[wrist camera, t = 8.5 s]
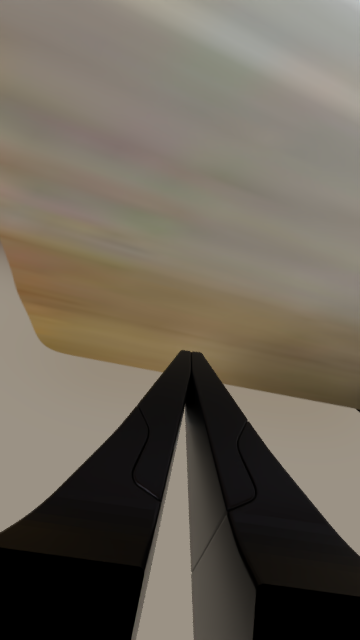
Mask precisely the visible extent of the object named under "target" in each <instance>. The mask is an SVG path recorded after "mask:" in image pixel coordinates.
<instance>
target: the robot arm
mask: <svg viewBox="0 0 360 640" xmlns="http://www.w3.org/2000/svg"><path fill="white" fill-rule="evenodd" d="M184 407H185V420H186V445H187V472H188V498H189V524H190V550H191V571H192V575H191V578H192V602H193V603H192V604H193V627H194V640H360V556H359V555H358V554H357V553H356V552H355V551H354V550H353V549H352V548H351V547H350V546H349V545H348V544H347V543H346V542H345V541H344V540H343V539H342V538H341V537H340V536H339V535H338V534H337V532H336V531H335V530H334V529H333V528H332V526H331V525H330V524H329V523H328V522H327V521H326V519H325V518H324V517H323V516H322V514H321V513H320V512H319V511H318V509H317V508H316V507H315V506H314V505H313V503H312V502H311V501H310V500H309V499H308V497H307V496H306V495H305V494H304V492H303V491H302V490H301V489H300V488H299V486H298V485H297V484H296V483H295V482H294V480H293V479H292V478H291V477H290V475H289V474H288V473H287V472H286V470H285V469H284V468H283V467H282V465H281V464H280V463H279V462H278V460H277V459H276V458H275V457H274V455H273V454H272V453H271V452H270V450H269V449H268V448H267V446H266V445H265V444H264V442H263V441H262V439H261V438H260V437H259V435H258V434H257V432H256V431H255V430H254V428H253V427H252V425H251V424H250V423H249V422H247V418H246V417H245V415H244V414H243V412H242V411H241V409H240V408H239V407H238V405H237V404H236V402H235V401H234V399H233V398H232V396H231V395H230V393H229V392H228V391H227V389H226V388H225V386H224V385H223V383H222V382H221V380H220V379H219V378H218V376H217V375H216V373H215V372H214V370H213V369H212V367H211V366H210V364H209V363H208V362H207V360H206V359H205V357H204V356H203V354H202V353H200V352H190V351H185V350H181V351H180V352H179V353H178V355H177V356H176V357H175V358H174V360H173V361H172V362H171V363H170V365H169V366H168V367H167V368H166V370H165V371H164V372H163V373H162V375H161V376H160V377H159V379H158V380H157V381H156V382H155V383H154V385H153V386H152V387H151V389H150V390H149V391H148V392H147V394H146V395H145V396H144V397H143V399H142V400H141V401H140V402H139V403H138V405H137V406H136V407H135V408H134V410H133V411H132V412H131V413H130V415H129V416H128V417H127V418H126V419H125V420H124V422H123V423H122V424H121V425H120V426H119V427H118V429H117V430H116V431H115V432H114V433H113V434H112V435H111V436H110V437H109V438H108V439H107V440H106V441H105V442H104V443H103V444H102V445H101V446H100V447H99V448H98V449H97V450H96V451H95V452H94V453H93V454H92V455H91V456H90V457H89V458H88V459H87V460H86V461H85V462H84V463H83V464H82V465H81V466H80V467H79V468H78V469H77V470H76V471H75V472H74V473H73V474H72V475H71V476H70V477H69V478H68V479H67V480H66V481H65V482H64V483H63V484H62V485H61V486H60V487H59V488H58V489H57V490H56V491H55V492H54V493H53V494H52V495H51V496H50V497H49V498H47V499H46V500H45V501H44V502H43V503H42V504H41V505H39V506H38V507H37V508H36V509H34V510H33V511H32V512H31V513H29V514H28V515H26V516H25V517H24V518H22V519H21V520H19V521H18V522H16V523H15V524H13V525H11V526H10V527H8V528H7V529H5V530H4V531H2V532H0V640H136V636H137V631H138V627H139V622H140V617H141V613H142V608H143V603H144V598H145V593H146V589H147V583H148V579H149V574H150V570H151V565H152V560H153V555H154V550H155V546H156V541H157V536H158V532H159V527H160V522H161V517H162V512H163V508H164V503H165V498H166V494H167V489H168V484H169V479H170V475H171V470H172V465H173V460H174V456H175V451H176V446H177V441H178V437H179V432H180V427H181V422H182V417H183V413H184ZM356 410H357V411H359V412H360V410H359V409H356Z"/></svg>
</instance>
